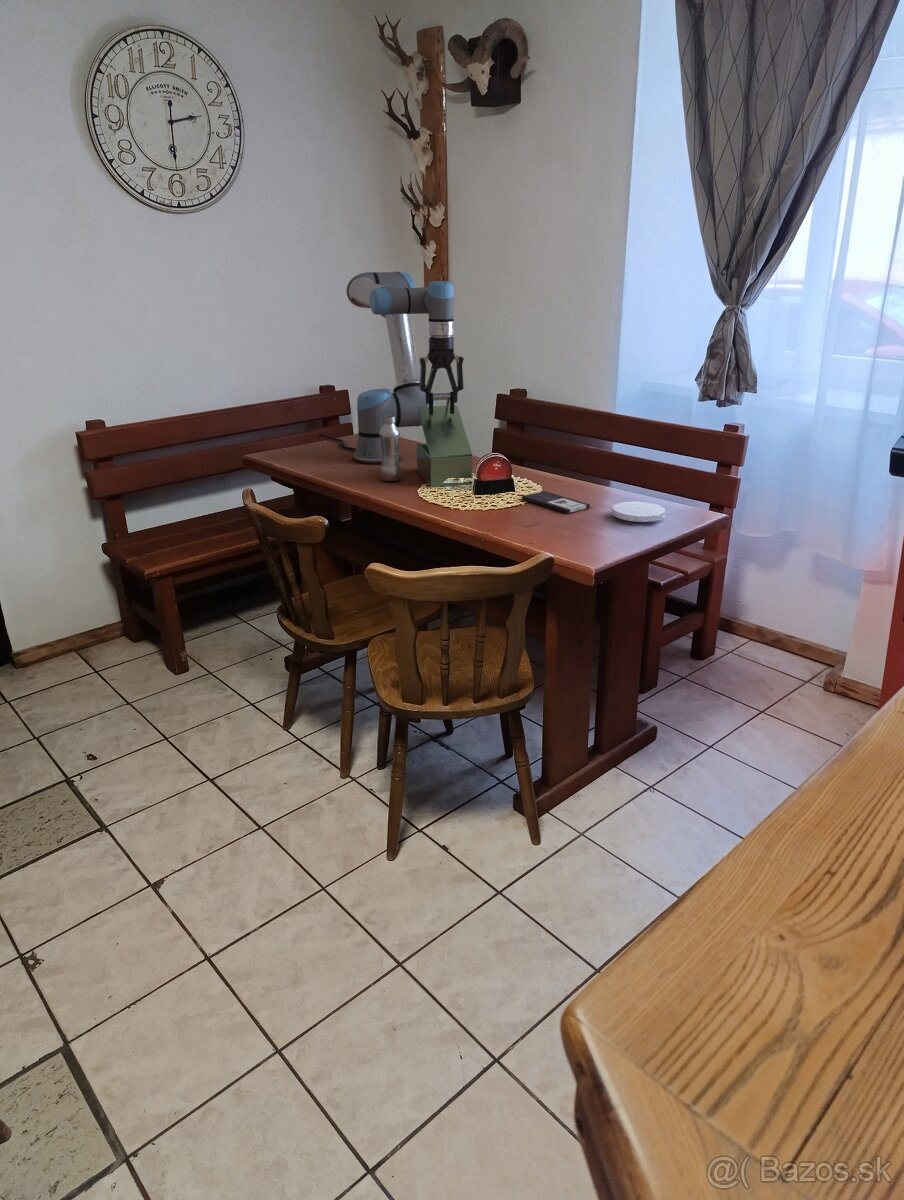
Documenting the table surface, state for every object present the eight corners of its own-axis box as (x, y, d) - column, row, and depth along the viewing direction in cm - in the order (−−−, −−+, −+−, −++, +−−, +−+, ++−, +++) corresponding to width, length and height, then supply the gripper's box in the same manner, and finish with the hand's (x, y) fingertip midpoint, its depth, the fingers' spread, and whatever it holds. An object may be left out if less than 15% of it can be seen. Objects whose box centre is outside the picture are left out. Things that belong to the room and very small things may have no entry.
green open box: (417, 470, 267) (416, 444, 264) (455, 468, 270) (455, 442, 267) (431, 487, 248) (430, 458, 245) (471, 484, 251) (472, 456, 247)
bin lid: (417, 408, 257) (419, 389, 251) (456, 407, 260) (460, 388, 254) (430, 458, 245) (433, 439, 239) (471, 456, 248) (475, 437, 241)
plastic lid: (601, 513, 222) (602, 504, 221) (645, 508, 227) (646, 499, 226) (629, 528, 210) (630, 518, 209) (675, 522, 215) (676, 513, 214)
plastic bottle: (376, 482, 254) (374, 417, 246) (386, 477, 259) (384, 413, 252) (395, 484, 251) (393, 419, 244) (404, 479, 257) (403, 415, 249)
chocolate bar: (544, 490, 240) (589, 504, 227) (544, 494, 240) (589, 507, 227) (522, 496, 235) (566, 510, 222) (522, 499, 235) (566, 513, 222)
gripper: (412, 338, 239) (414, 417, 248) (475, 336, 243) (474, 414, 252) (407, 335, 246) (409, 413, 255) (468, 334, 250) (468, 410, 259)
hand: (441, 413), depth 253 cm, fingers closed on bin lid, 6 cm apart
